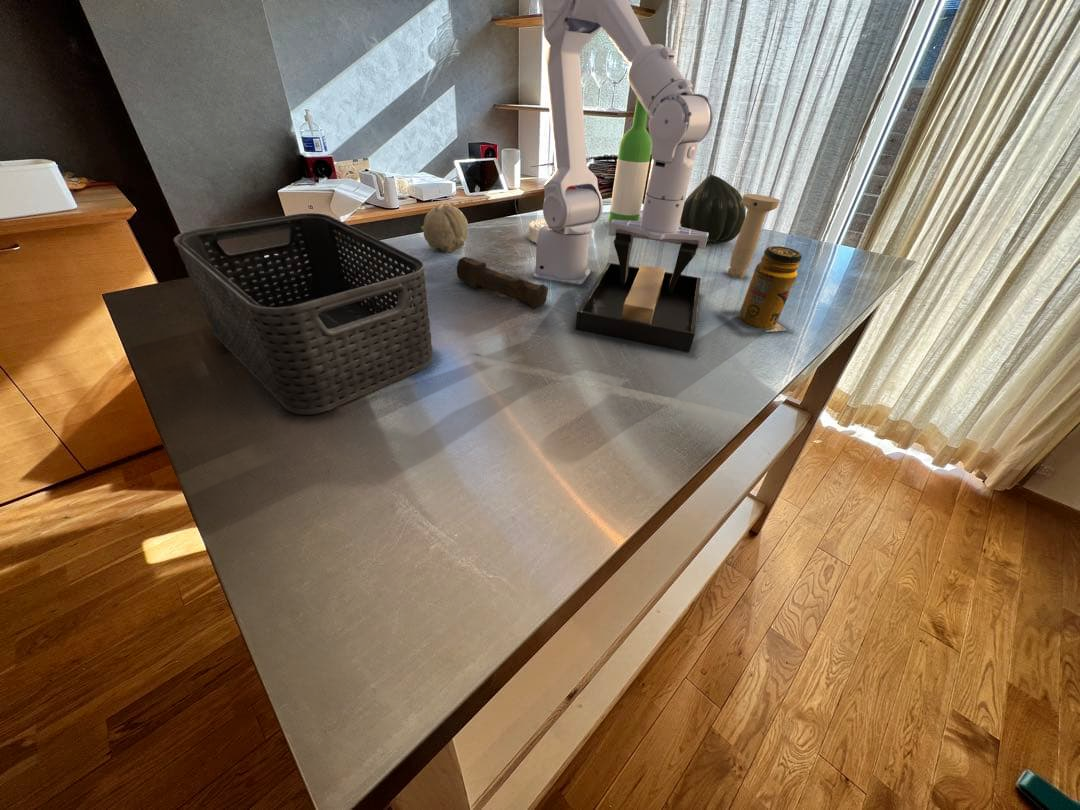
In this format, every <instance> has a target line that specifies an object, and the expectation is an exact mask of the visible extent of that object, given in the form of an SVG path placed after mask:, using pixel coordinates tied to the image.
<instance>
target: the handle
mask: <svg viewBox="0 0 1080 810" xmlns="http://www.w3.org/2000/svg"><path fill="white" fill-rule="evenodd" d="M780 201H781V200H780V199H779V198H775V197H773V196H768V195H762V194H755V193H745V194H743V196H742V203H743V205H744V206H745V209H747V210H746V216H745V220H744V222H743V225H742V228H741V230H740V233H739V234H738V235H737V237H736V238H737V239H736V241H735V243H734V246H733V250H732V252H731V257H730V261H729V268H728V270H727V274H728V276H730V277H731V278H737V279H742V278H743V277H745V275H746V273H747V270H748V268H749V267H750V265H751V262H752V259H753V257H754V255H755V252H756V249H757V246H758V242H759V238H760V235H761V231H762V228H763V224H764V221H765V218H766V216H767V214H768V212H770V211H774V210H776V209H777V208H778V206H779V205H780Z"/></svg>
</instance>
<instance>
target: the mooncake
mask: <svg viewBox="0 0 1080 810" xmlns="http://www.w3.org/2000/svg"><path fill="white" fill-rule="evenodd" d="M543 225H547V223H546V221H545V218H536V220H533V221H531V222H530V223H529V225H528V239H529V240H530V241H531V242H533V243H535V244H536V245H537V239H538V234H539V231H540V229H541V227H542V226H543Z"/></svg>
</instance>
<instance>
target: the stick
mask: <svg viewBox="0 0 1080 810" xmlns="http://www.w3.org/2000/svg"><path fill="white" fill-rule="evenodd" d="M639 268H640V269H639V271H638V273H637V275H636V278H635V280H634V282H633V285H632V287H631V289H630V292H629V294H628V296H627V298H626V301H625V303H624V307H623V312H622V319H627V320H632V321H638V322H643V323H648V324H651V322H652V319H653V315H654V312H655V308H656V305H657V302H658V298H659V295H660V291H661V287H662V282H663V278H664V274H665V272H666V269H665V268H660V267H656V266H655V267H654V266H649V265H642V264H640V266H639Z"/></svg>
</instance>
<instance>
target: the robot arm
mask: <svg viewBox="0 0 1080 810" xmlns="http://www.w3.org/2000/svg"><path fill="white" fill-rule="evenodd" d="M540 5H541V15H542V25H543V26H542V27H543V36H544V37H543V52H544V61H545V62H544V63H545V73H546V83H547V94H548V106H549V118H550V128H551V138H552V150H553V159H554V161H553V162H554V168H555V169H554V172H553V174H552V175H551V176H550V177H549V178H548V180H546V182H545V183H544V185H543V189H544V197H543V203H542V213H543V217H544V218H543V219H545V221H546V223H547V225H543V226H542V227H541V229H540V231H539V234H538V239H537V244H536V249H535V250H536V253H535V269H534V270H535V273H534V275H533V277H534V278H536V279H545V280H551V281H556V282H561V283H568V284H573V285H579V286H582V285H583V284H584V282H585V281H586V279H587V278H588V277H589V275H590V274H591V272H592V270H591V269H589V268H587V265H588V255H589V248H590V247H589V246H590V238H591V230H593V229H594V227H595V223H596V222H597V221H599V220H600V218H601V216H602V213H603V208H604V204H603V202H604V201H603V197H602V195H601V192H600V190H599V184H598V178H597V176H596V175H595V174H594V173H593V172H592V171H591V170H590V169H589V167H588V164H587V162H588V161H587V149H586V147H587V146H586V134H585V133H586V131H585V117H584V103H583V101H584V100H583V86H582V85H583V84H582V71H581V53H582V52H583V50H584V47H585V46H586V45H588V44H590V42H591V41H592V40H593V39H594V38H595V36H596V35H597V34H598V32H600V30H601V29H602V30H603V31H604V33H605V34H606V36H607V37H608V38H609V40H610V41H611V42H612V44H613V45H614V47H615V48H616V49H617V51H618V52H619V54H620V55H621V57H622V59H624V60H625V62H626V64H627V65H628V71H627V83H628V85H629V86H630V87H631V90H632V91H633V93H634V94H635V97H636V99H637V98H638V99H639V101H640V103H641V104H642V106H643V107H644V109H645V111H646V112H647V117H649V119H648V133H649V135H650V137H651V140H652V149H651V162H650V168H649V173H648V180H647V185H646V190H645V196H644V199H643V207H642V211H641V218H640V220H639V221H625V220H615V219H613V220H612V221H611V223H609V230H608V235H609V236H614V238H615V239H614V240H613V246H614V249H615V252H616V255H617V259H618V264H620V272H621V284H625V282H626V280H627V275H628V268H629V266H630V259H631V253H632V248H633V243H634V239H635V238H636V239H642V240H649V241H656V242H662V243H669V244H677V245H679V249H678V254H677V258H676V261H675V265H674V269H673V272H672V273H673V275H672V278H671V281H670V285H669V289H668V292H672V291H673V288H674V286H675V284H676V282H677V280H678V278H679V276H680V275H682V273H683V272H684V270H685V269H686V268H687V266H688V265H689V264H690V262H691V261H692V260H693V259H694V258H695V256H696V254H697V250H698V249H700V250H705V249H706V246H707V242H708V241H707V239H708V233H707V232H701V231H696V230H692V229H688V228H683V227H681V226H680V220H681V215H682V211H683V207H684V202H685V200H686V199H687V194H688V191H689V186H690V180H691V176H692V172H693V169H694V164H695V159H696V157H697V151H698V147H699V143H701V142H702V141H703V140H704V139H705V138H706V137H707V136H708V134H709V132H710V130H711V127H712V125H713V121H714V113H713V108H712V105H711V103H710V99H709V97H708V96H707V95H705V94H702V93H694V91H693V90H692V88H693V83H692V82H691V80H690V79H686V78H685V76H684V75H683V74H682V72H681V71H680V69H679V67H678V66H677V64H676V63H675V61H674V58H675V57H676V53H675V51H674V50H673V48H672V47H669V46H665V45H663V44H661V43H654V44H652V43H651V42H650V40H649V38H648V36H647V33H646V32H645V30H644V28H643V27H642V25H641V22H640V21H639V19H638V17H637V16H636V13H635V11H634V9H633V7H632V6H631V4H630V2H629V0H540ZM569 187H574V188H573V189H568V188H569ZM708 240H709V239H708Z"/></svg>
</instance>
